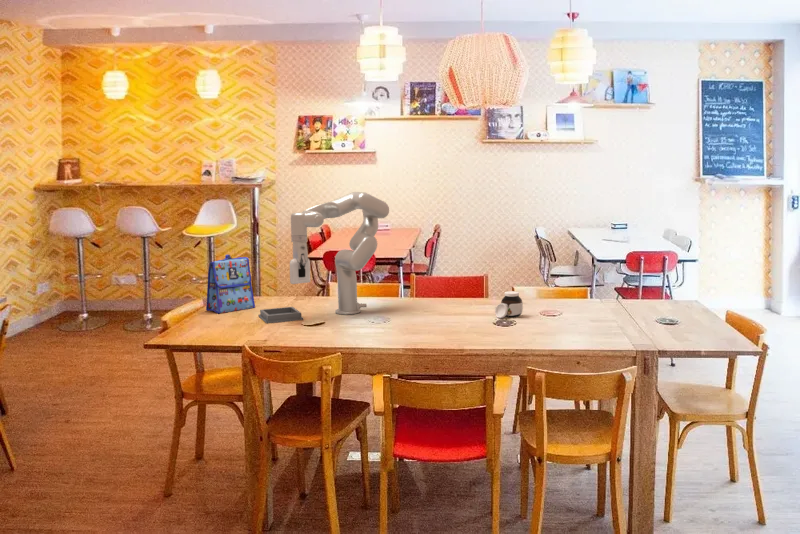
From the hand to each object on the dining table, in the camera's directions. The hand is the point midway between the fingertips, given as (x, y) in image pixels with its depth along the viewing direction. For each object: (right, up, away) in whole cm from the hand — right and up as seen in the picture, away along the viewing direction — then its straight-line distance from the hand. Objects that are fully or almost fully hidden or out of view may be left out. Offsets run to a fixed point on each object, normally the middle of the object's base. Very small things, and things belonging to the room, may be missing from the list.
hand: (300, 275), depth 412 cm
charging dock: (-11, -21, +8) cm, 25 cm away
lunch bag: (-40, -18, +33) cm, 55 cm away
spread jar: (+100, -20, 0) cm, 102 cm away
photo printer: (0, -4, 0) cm, 4 cm away
